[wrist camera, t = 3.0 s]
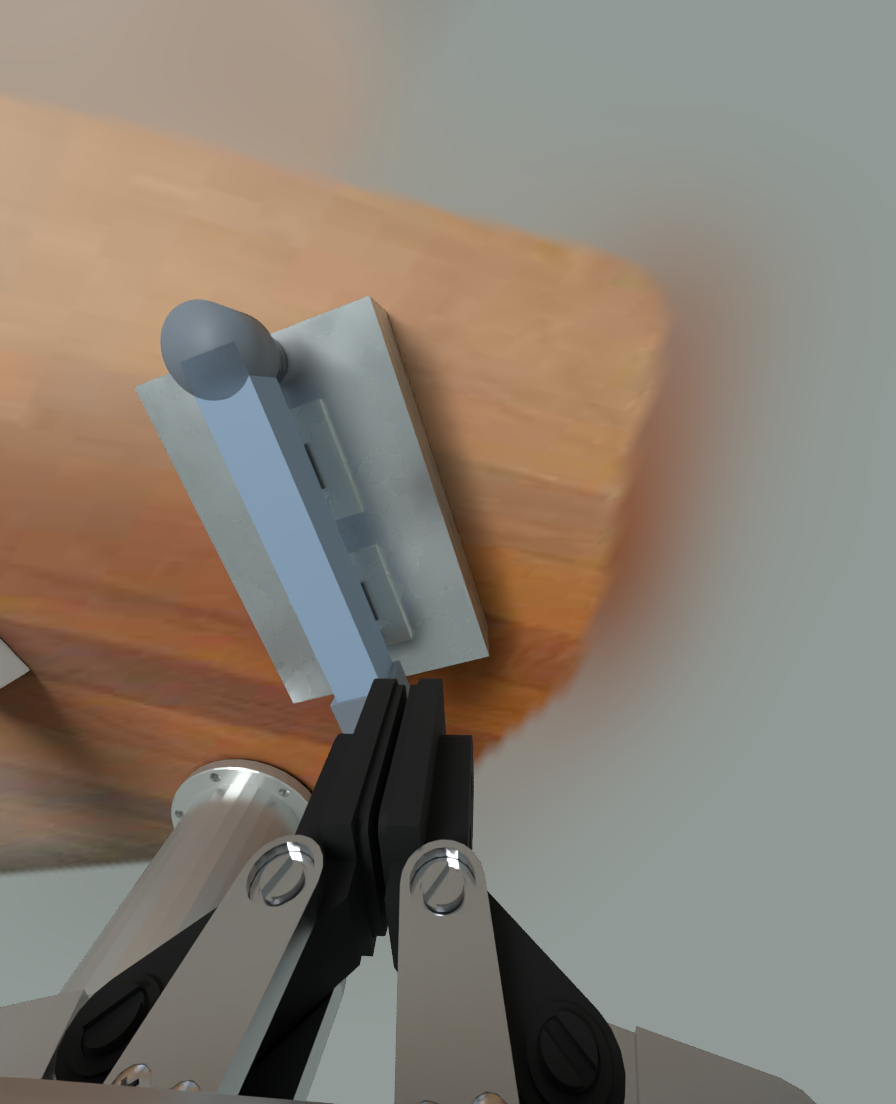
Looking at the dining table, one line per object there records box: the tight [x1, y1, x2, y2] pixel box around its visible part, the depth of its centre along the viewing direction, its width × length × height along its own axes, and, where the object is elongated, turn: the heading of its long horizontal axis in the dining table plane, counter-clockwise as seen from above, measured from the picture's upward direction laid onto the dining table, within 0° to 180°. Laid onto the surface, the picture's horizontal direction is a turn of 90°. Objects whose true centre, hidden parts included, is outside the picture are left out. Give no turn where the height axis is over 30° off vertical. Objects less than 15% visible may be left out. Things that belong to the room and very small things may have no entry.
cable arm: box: [161, 300, 410, 734], centre depth 21 cm, size 20×4×3 cm, turn 18°
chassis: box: [135, 296, 489, 703], centre depth 26 cm, size 20×13×6 cm, turn 18°
